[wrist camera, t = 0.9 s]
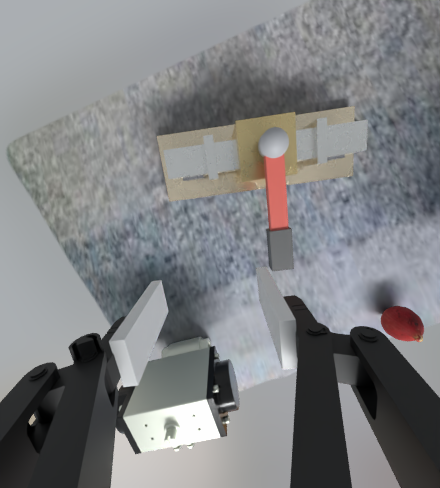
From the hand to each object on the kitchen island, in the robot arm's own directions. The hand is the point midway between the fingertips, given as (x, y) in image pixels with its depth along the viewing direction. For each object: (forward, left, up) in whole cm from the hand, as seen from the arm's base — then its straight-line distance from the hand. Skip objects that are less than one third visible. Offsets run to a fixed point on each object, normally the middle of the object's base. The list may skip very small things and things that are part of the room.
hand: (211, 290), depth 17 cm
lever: (-8, -4, -12) cm, 15 cm away
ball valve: (+9, +24, -23) cm, 35 cm away
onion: (-31, +21, -23) cm, 44 cm away
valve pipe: (-8, -11, -23) cm, 27 cm away
